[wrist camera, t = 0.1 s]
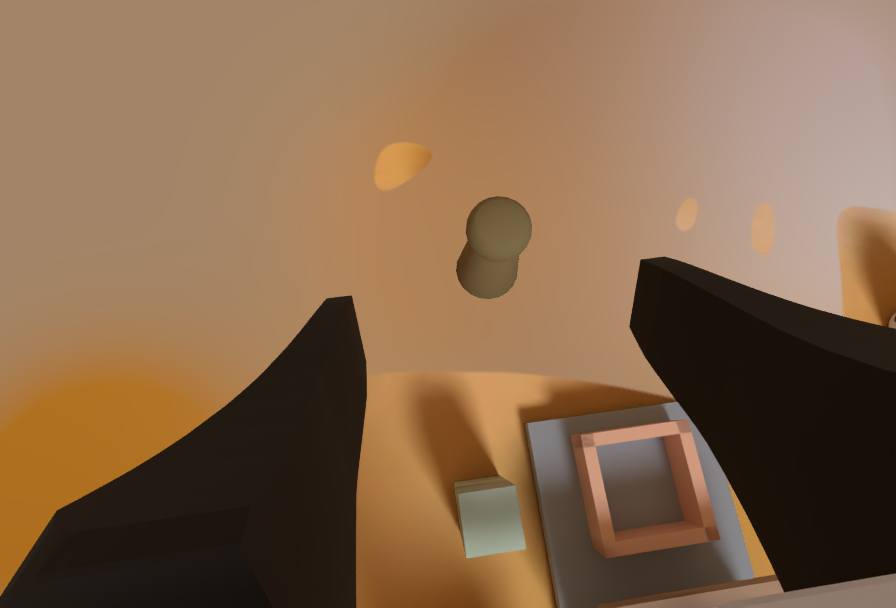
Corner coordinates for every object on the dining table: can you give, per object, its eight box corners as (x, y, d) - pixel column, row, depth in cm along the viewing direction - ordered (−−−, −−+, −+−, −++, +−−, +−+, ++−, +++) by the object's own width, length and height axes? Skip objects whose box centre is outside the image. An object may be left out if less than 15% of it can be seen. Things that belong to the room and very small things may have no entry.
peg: (506, 524, 40) (526, 549, 31) (460, 532, 39) (466, 558, 31) (498, 475, 41) (515, 485, 32) (453, 481, 40) (457, 494, 32)
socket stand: (756, 621, 38) (797, 645, 34) (565, 654, 37) (582, 683, 33) (694, 399, 43) (723, 394, 38) (524, 423, 42) (534, 422, 38)
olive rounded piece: (477, 230, 47) (488, 170, 36) (528, 261, 46) (555, 209, 36) (444, 277, 46) (446, 229, 35) (497, 310, 45) (515, 271, 34)
